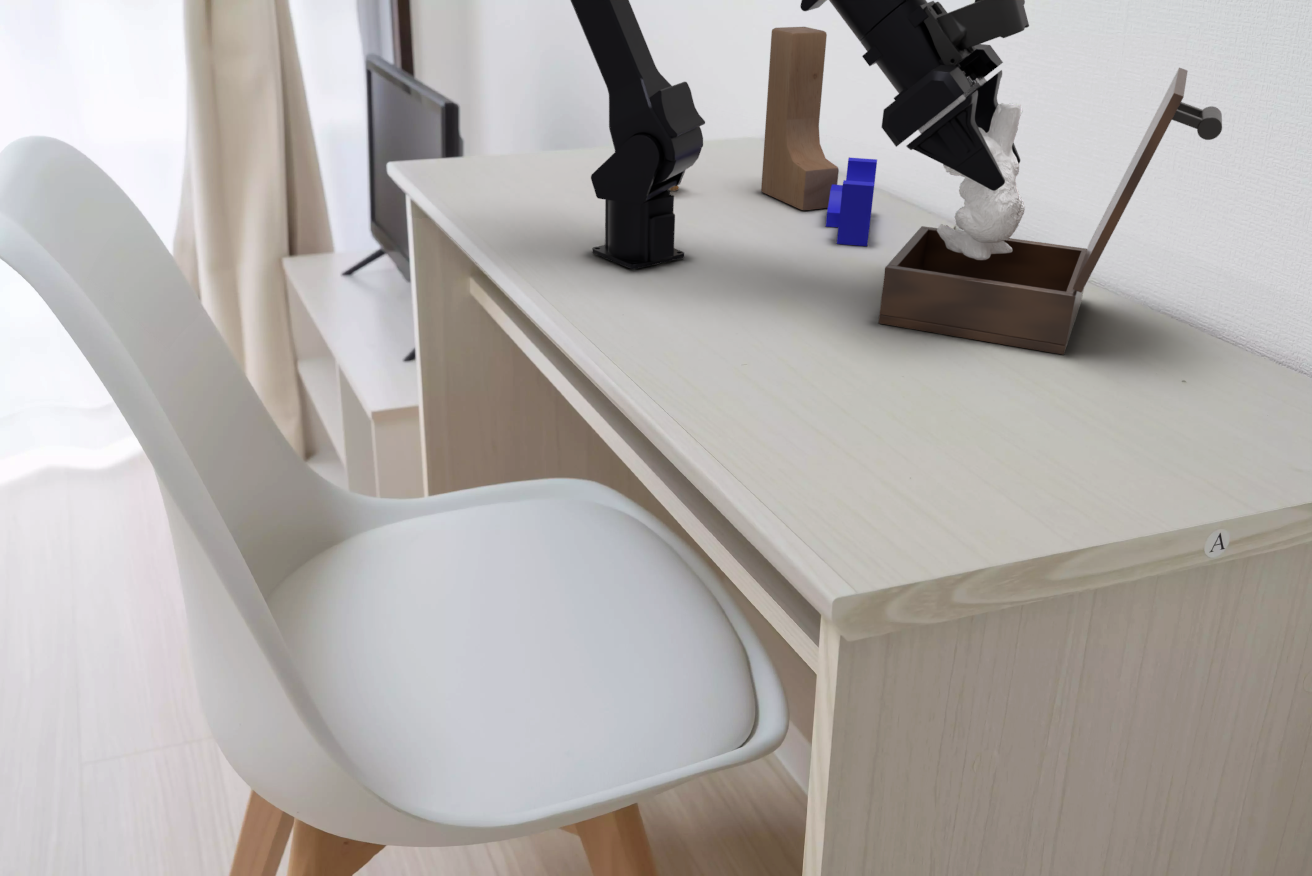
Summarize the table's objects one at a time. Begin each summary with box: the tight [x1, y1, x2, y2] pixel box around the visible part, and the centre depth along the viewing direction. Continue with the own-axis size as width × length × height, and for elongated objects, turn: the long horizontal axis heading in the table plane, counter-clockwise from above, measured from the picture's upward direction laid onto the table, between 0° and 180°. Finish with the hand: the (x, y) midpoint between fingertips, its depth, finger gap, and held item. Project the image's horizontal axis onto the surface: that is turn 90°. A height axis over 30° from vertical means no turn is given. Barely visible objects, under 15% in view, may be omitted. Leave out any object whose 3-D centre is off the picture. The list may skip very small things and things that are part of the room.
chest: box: [878, 225, 1087, 355], centre depth 94 cm, size 15×14×5 cm
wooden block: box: [760, 26, 840, 211], centre depth 123 cm, size 9×4×18 cm, turn 26°
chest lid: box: [1073, 67, 1223, 292], centre depth 86 cm, size 15×14×4 cm
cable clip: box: [825, 157, 878, 247], centre depth 116 cm, size 12×4×6 cm, turn 168°
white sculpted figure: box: [936, 102, 1026, 260], centre depth 91 cm, size 8×7×12 cm
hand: (1008, 176), depth 90 cm, fingers closed on white sculpted figure, 8 cm apart
